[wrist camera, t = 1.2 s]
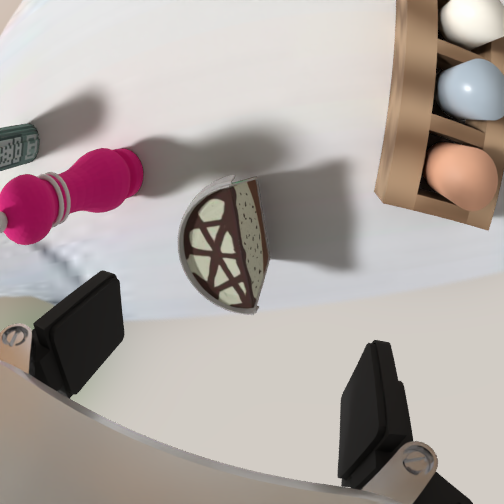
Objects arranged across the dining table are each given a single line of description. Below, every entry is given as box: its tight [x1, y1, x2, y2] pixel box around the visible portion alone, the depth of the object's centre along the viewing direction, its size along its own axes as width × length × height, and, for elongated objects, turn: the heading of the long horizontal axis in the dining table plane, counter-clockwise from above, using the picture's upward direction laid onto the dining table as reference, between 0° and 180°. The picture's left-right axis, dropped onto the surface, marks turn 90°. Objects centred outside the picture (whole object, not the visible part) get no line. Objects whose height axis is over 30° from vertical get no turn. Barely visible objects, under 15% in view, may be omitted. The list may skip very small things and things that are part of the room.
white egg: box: [438, 0, 504, 50], centre depth 15 cm, size 5×5×6 cm
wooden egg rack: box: [374, 0, 504, 230], centre depth 22 cm, size 24×12×5 cm, turn 174°
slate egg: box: [434, 59, 504, 120], centre depth 18 cm, size 5×5×6 cm
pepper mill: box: [0, 148, 143, 245], centre depth 26 cm, size 7×7×20 cm
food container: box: [178, 175, 270, 315], centre depth 30 cm, size 12×6×10 cm, turn 10°
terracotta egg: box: [422, 142, 498, 211], centre depth 21 cm, size 5×5×6 cm
